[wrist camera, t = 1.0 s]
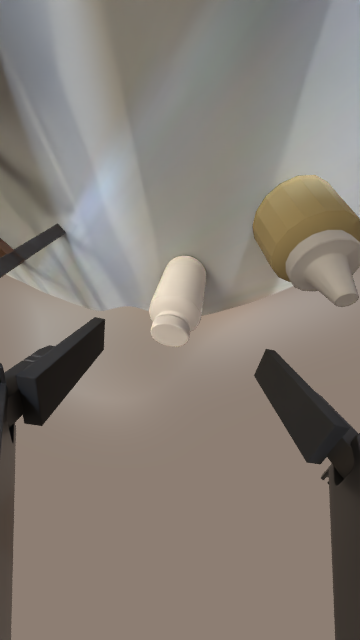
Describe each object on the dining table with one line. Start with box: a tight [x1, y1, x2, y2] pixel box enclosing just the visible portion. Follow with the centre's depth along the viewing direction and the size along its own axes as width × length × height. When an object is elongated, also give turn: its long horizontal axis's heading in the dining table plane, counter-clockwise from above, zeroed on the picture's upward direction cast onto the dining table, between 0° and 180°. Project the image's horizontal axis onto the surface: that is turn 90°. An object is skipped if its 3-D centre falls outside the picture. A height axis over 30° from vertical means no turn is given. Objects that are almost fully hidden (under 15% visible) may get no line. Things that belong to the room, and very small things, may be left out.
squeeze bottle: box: [253, 175, 360, 307], centre depth 16 cm, size 8×8×18 cm
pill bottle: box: [149, 256, 206, 347], centre depth 27 cm, size 8×8×15 cm
